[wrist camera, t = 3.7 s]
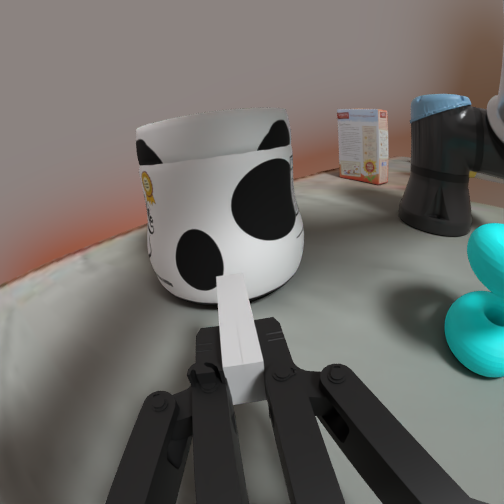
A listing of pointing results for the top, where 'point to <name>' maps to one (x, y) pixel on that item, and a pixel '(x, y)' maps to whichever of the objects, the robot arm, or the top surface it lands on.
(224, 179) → the milk container
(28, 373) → the top surface
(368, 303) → the top surface
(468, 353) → the donuts
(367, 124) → the cracker box
